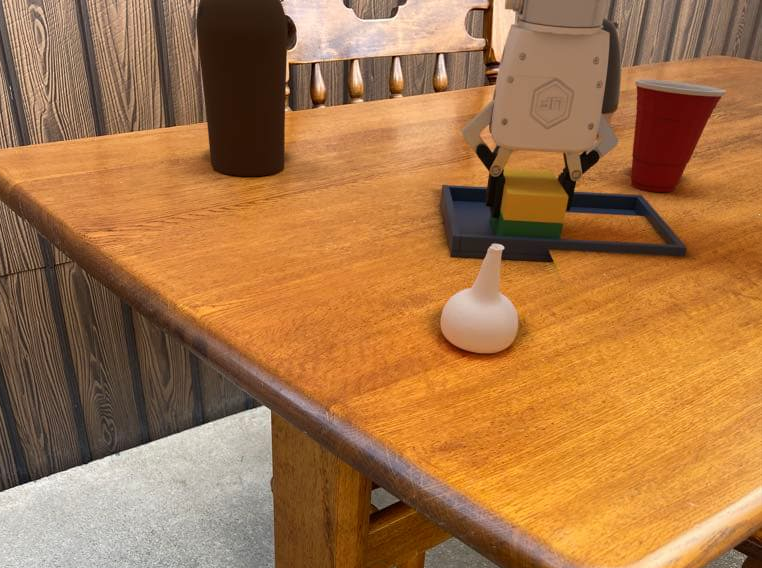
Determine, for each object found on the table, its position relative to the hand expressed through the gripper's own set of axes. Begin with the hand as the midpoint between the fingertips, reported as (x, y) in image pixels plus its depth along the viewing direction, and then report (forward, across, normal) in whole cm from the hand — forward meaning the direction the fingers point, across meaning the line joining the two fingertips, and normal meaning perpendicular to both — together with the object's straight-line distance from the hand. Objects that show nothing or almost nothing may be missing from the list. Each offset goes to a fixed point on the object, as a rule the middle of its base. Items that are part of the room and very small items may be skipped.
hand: (525, 213), depth 82 cm
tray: (+3, +4, +3) cm, 6 cm away
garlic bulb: (+3, -7, -25) cm, 26 cm away
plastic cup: (+3, +21, +24) cm, 32 cm away
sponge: (+2, 0, 0) cm, 2 cm away
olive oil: (+3, -32, +23) cm, 40 cm away
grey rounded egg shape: (+3, +17, +53) cm, 56 cm away
